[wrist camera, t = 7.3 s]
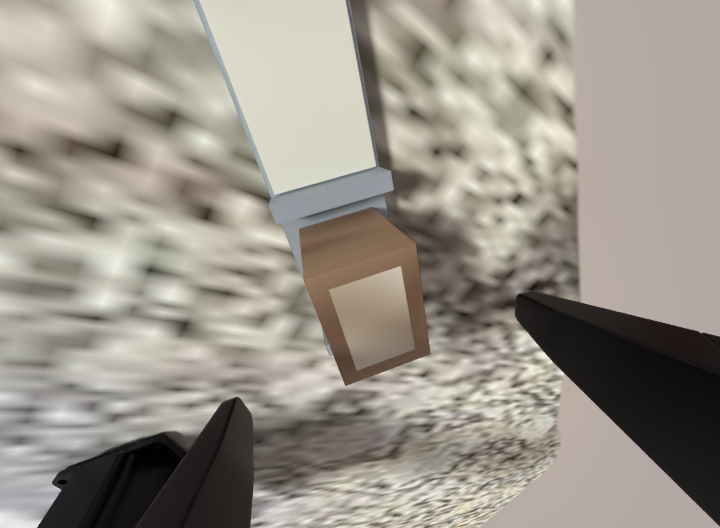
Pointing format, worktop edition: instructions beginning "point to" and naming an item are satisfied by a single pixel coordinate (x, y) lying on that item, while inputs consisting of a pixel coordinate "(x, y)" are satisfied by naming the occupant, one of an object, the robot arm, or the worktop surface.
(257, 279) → the worktop surface
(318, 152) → the bracket
